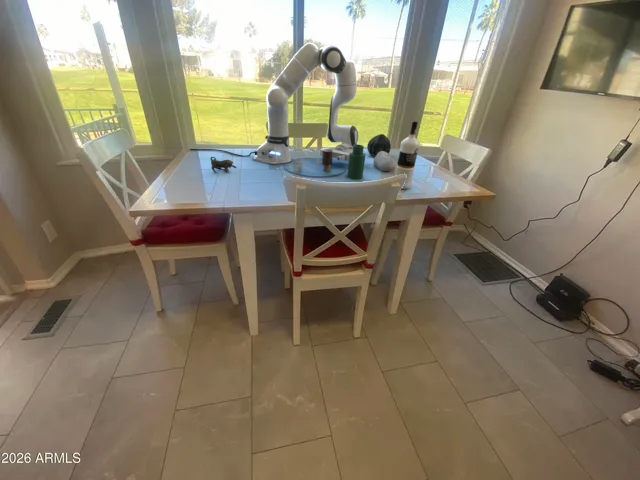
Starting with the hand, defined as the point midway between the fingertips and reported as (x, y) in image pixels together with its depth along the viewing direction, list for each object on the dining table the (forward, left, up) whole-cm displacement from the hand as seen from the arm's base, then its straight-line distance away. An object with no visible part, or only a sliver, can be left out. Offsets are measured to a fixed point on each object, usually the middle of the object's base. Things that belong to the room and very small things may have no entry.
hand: (331, 157), depth 150 cm
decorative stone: (+29, +14, -7) cm, 33 cm away
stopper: (-1, -5, -7) cm, 8 cm away
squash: (+22, +40, -7) cm, 46 cm away
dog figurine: (-49, -29, -7) cm, 57 cm away
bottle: (+16, -8, -6) cm, 19 cm away
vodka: (+40, -12, -7) cm, 42 cm away
